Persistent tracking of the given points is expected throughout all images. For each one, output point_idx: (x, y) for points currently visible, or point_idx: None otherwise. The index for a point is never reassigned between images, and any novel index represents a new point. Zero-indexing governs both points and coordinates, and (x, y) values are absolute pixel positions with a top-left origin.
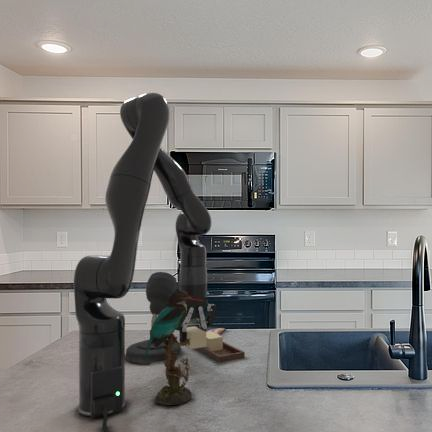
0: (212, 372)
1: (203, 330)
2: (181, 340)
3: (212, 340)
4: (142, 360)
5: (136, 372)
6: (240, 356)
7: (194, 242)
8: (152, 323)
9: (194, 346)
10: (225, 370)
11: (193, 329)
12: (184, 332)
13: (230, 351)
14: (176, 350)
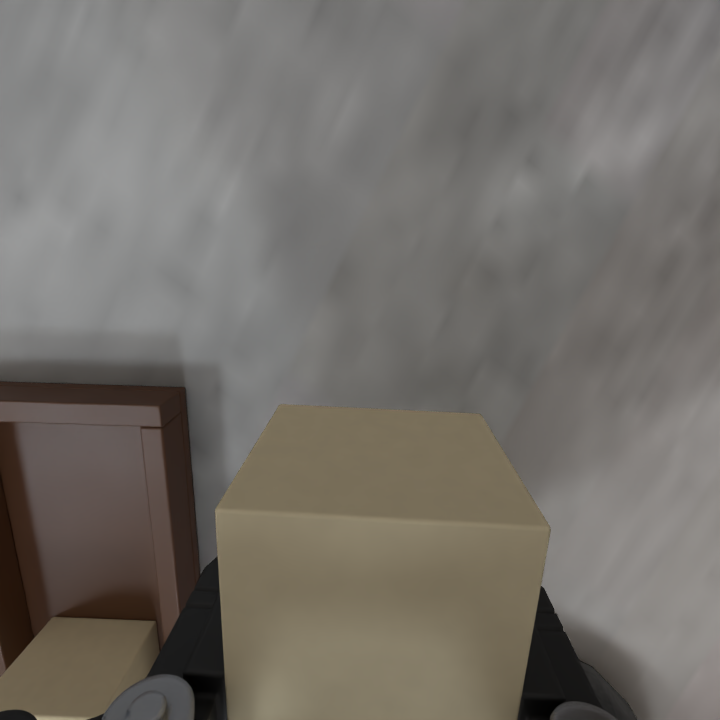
0: (305, 258)
1: (201, 661)
2: (551, 604)
3: (81, 700)
4: (613, 698)
5: (710, 565)
6: None
7: None
8: None
9: (438, 420)
10: (202, 236)
11: None
12: (566, 697)
13: (16, 553)
14: None
